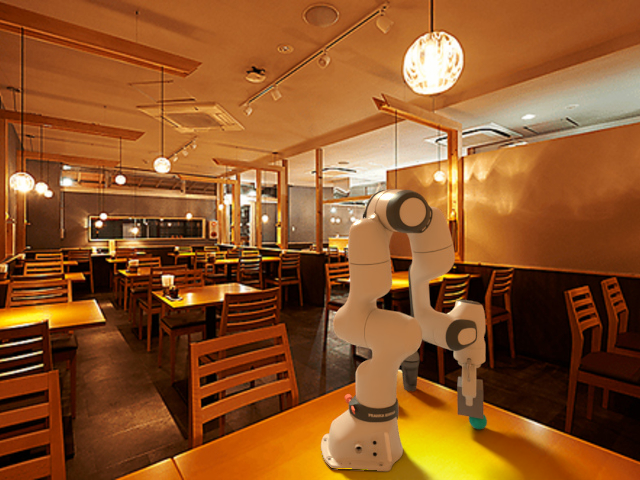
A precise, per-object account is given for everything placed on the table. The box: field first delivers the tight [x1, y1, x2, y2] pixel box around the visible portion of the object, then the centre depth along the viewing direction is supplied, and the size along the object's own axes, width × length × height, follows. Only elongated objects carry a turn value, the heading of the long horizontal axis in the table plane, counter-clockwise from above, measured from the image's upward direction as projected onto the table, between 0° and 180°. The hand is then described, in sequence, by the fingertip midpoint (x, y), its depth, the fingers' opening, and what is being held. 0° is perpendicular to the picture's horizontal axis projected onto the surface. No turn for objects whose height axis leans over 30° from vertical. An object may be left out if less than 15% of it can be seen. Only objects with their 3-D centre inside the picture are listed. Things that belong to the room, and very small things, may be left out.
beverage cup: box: [400, 350, 421, 392], centre depth 130 cm, size 7×7×20 cm
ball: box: [468, 413, 488, 430], centre depth 105 cm, size 5×5×5 cm
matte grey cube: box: [456, 376, 484, 419], centre depth 105 cm, size 7×7×9 cm
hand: (469, 397), depth 105 cm, fingers closed on matte grey cube, 7 cm apart
